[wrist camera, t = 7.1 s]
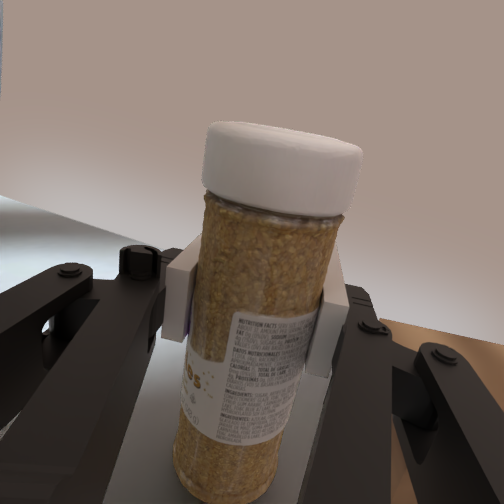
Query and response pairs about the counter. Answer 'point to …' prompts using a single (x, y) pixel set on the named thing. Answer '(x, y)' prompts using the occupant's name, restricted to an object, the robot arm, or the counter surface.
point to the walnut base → (482, 361)
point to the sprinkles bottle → (256, 299)
